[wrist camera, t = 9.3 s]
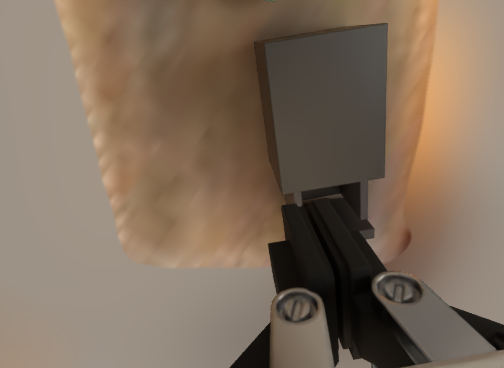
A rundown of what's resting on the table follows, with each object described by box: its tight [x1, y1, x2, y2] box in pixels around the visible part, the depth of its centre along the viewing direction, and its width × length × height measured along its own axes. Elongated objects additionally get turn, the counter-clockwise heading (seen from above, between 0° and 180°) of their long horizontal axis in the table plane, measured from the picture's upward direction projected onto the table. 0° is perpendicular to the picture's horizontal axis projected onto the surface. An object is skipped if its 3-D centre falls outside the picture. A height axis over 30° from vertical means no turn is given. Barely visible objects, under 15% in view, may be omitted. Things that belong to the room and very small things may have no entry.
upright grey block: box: [254, 23, 388, 195], centre depth 33 cm, size 13×10×9 cm
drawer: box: [281, 180, 374, 239], centre depth 37 cm, size 17×9×8 cm, turn 8°
